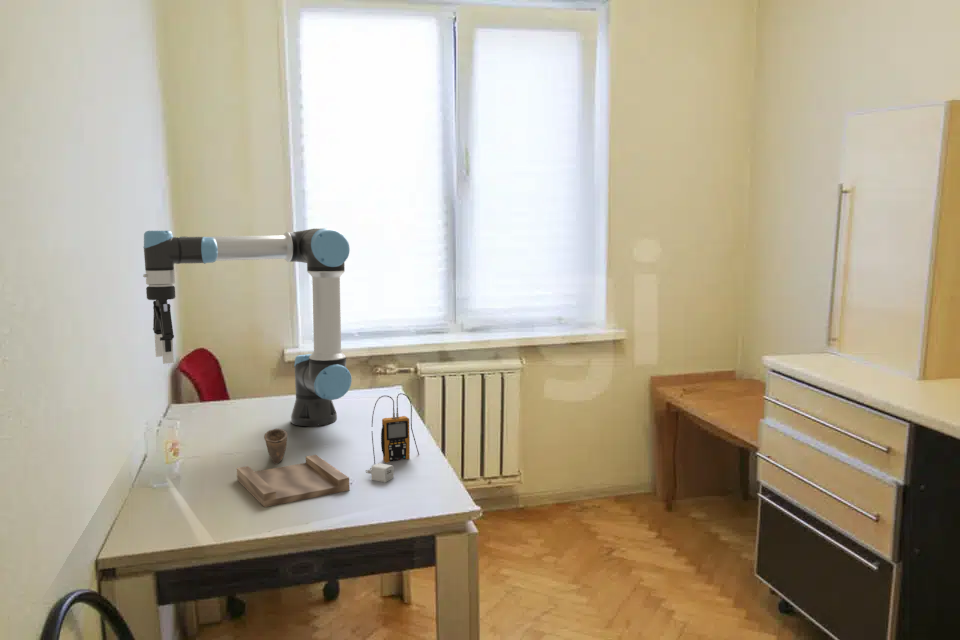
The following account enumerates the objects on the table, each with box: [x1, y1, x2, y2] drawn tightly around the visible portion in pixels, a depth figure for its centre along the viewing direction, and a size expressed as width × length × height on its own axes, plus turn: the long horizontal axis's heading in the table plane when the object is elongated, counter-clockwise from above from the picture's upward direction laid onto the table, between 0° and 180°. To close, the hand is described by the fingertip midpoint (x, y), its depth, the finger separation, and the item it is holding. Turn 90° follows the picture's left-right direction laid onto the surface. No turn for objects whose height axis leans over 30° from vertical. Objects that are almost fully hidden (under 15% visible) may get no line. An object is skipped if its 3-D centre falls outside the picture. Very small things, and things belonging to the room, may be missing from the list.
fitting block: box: [236, 454, 351, 508], centre depth 200 cm, size 22×24×3 cm
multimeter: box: [371, 393, 420, 465], centre depth 214 cm, size 15×10×20 cm
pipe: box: [263, 428, 289, 465], centre depth 222 cm, size 6×17×10 cm, turn 11°
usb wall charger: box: [365, 462, 395, 483], centre depth 204 cm, size 4×7×4 cm, turn 62°
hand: (164, 359), depth 218 cm, fingers open, 13 cm apart
